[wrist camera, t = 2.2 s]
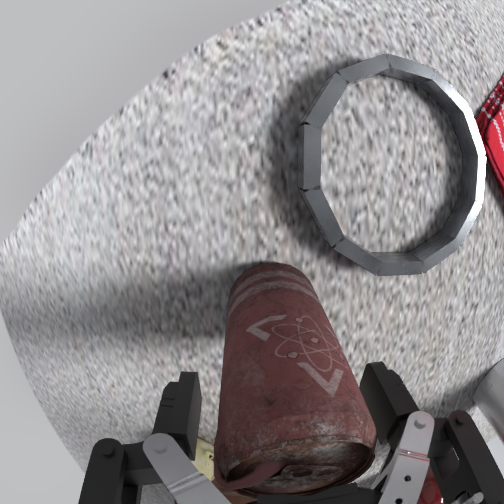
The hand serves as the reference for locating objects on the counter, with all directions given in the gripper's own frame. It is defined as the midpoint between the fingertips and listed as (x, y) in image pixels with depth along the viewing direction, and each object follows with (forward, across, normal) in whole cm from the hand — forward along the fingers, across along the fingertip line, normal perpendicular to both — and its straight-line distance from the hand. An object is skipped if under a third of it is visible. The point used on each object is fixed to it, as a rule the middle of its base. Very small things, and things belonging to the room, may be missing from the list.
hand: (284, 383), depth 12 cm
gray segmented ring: (+9, -9, -10) cm, 16 cm away
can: (+9, 0, 0) cm, 9 cm away
